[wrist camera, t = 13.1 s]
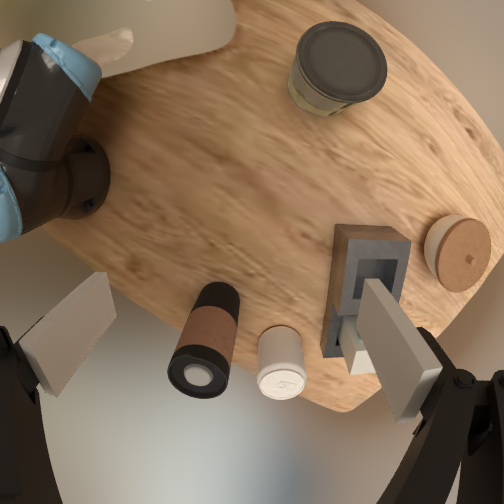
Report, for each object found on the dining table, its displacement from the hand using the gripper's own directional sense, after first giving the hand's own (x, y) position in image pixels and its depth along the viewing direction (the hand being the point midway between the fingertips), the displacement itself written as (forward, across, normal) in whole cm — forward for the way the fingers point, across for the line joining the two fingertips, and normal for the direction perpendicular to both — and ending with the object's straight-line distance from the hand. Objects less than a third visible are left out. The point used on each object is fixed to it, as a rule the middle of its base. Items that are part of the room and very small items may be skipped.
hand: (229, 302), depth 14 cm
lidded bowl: (+32, +35, -6) cm, 47 cm away
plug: (+30, +18, -22) cm, 41 cm away
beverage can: (+32, +5, -27) cm, 42 cm away
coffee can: (+32, +10, +18) cm, 38 cm away
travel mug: (+32, -6, -18) cm, 37 cm away
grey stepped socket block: (+32, +18, -16) cm, 40 cm away
